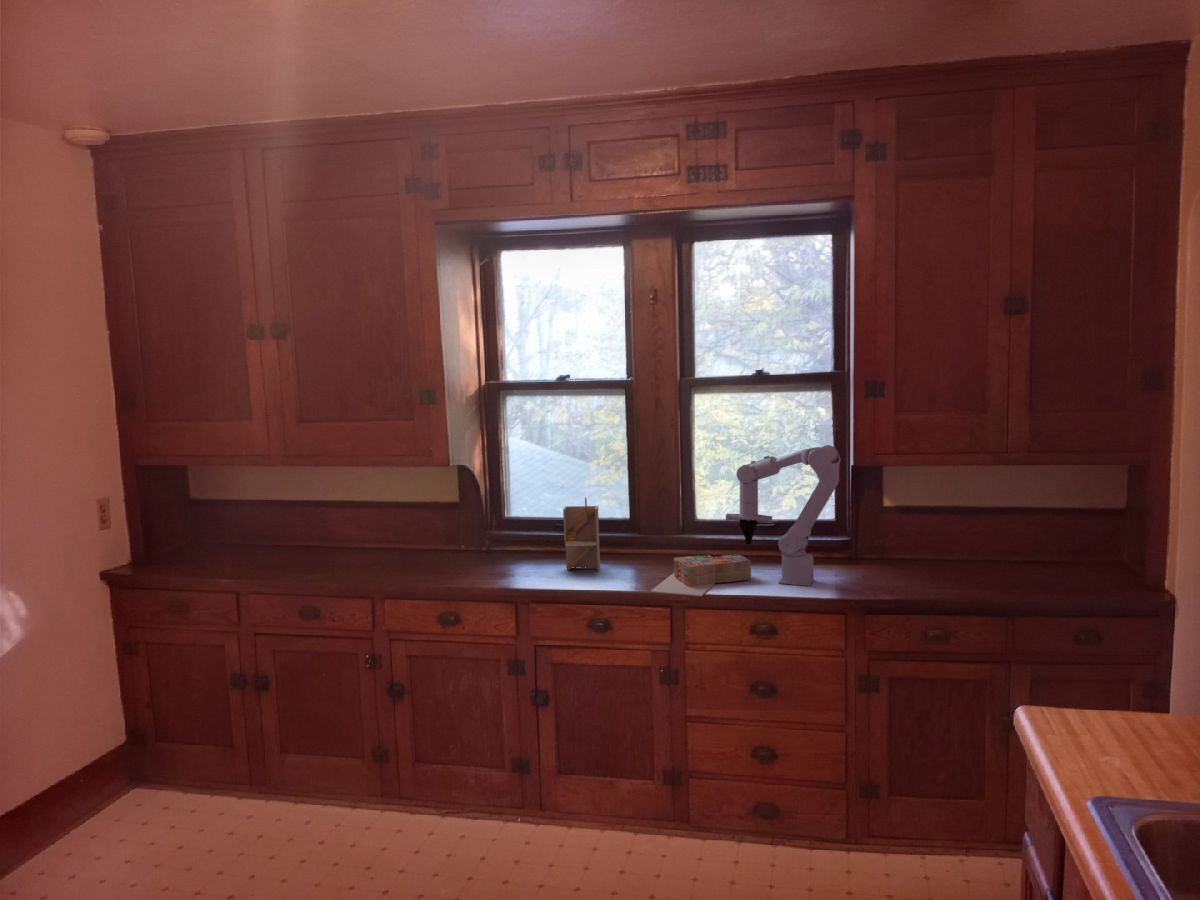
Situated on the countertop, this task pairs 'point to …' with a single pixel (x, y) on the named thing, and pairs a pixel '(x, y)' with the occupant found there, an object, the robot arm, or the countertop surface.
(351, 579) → the countertop surface
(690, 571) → the stack of blocks
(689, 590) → the mat
